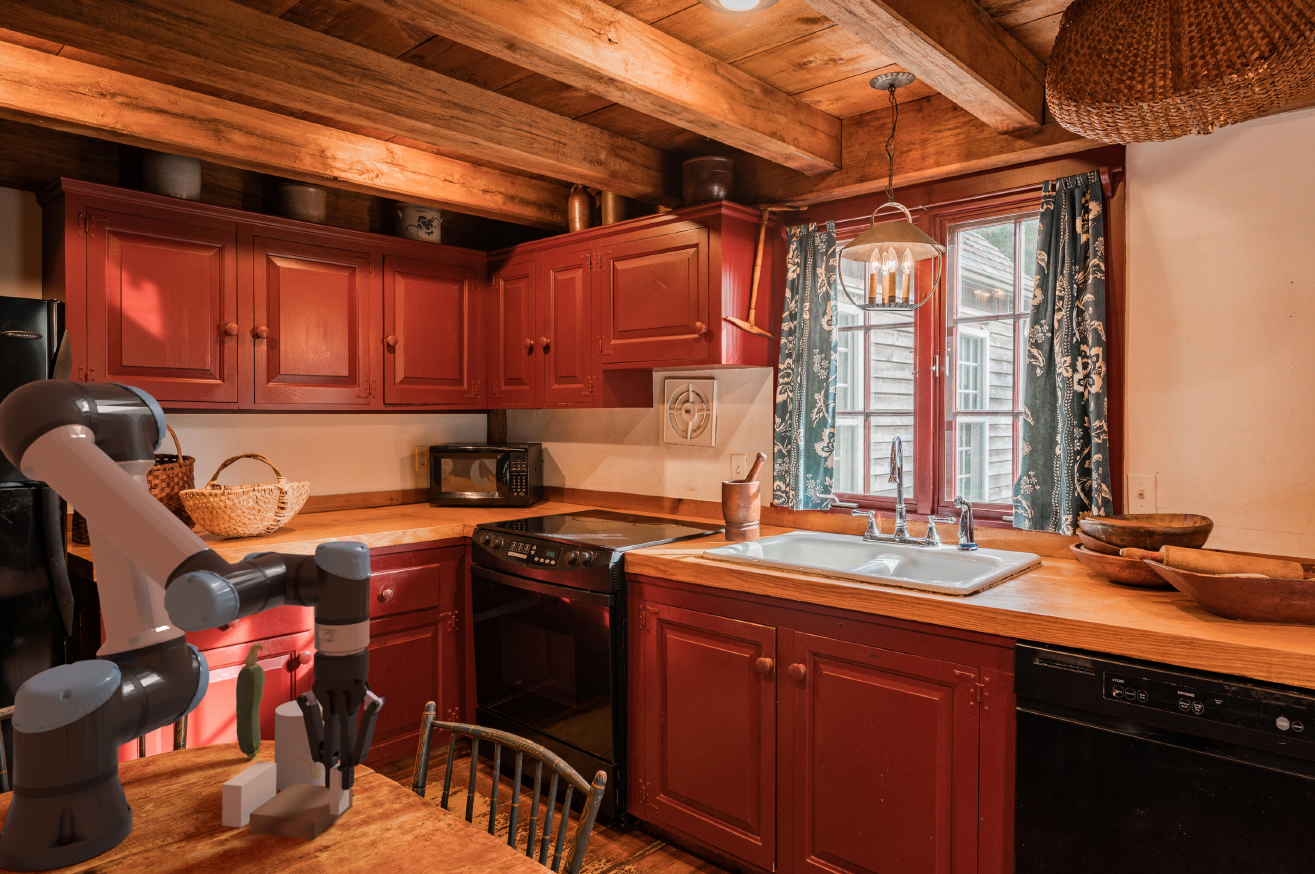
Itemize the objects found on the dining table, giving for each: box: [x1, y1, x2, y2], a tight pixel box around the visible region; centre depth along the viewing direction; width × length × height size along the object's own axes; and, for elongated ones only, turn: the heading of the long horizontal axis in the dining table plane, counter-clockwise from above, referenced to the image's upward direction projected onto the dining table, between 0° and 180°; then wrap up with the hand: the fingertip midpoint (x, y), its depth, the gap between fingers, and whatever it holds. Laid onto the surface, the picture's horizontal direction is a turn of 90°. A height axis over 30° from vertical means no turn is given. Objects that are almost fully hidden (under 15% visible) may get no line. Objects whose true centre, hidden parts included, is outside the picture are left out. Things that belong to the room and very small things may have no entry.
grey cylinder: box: [274, 700, 325, 792], centre depth 130 cm, size 8×8×12 cm
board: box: [249, 783, 354, 841], centre depth 117 cm, size 10×10×3 cm
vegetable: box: [235, 641, 266, 761], centre depth 138 cm, size 4×4×20 cm
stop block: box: [221, 761, 277, 829], centre depth 118 cm, size 3×8×6 cm, turn 171°
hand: (339, 809), depth 116 cm, fingers closed
